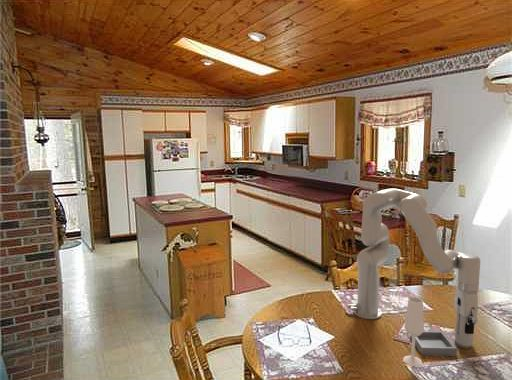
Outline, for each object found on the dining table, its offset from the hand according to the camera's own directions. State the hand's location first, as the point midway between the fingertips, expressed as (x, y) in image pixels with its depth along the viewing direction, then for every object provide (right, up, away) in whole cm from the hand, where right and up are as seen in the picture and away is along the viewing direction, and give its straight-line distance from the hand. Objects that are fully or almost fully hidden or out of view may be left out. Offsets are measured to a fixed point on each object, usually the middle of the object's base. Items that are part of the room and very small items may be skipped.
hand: (464, 328), depth 153 cm
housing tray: (-13, -7, 0) cm, 15 cm away
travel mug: (0, -7, +1) cm, 7 cm away
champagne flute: (-25, -9, -10) cm, 28 cm away
